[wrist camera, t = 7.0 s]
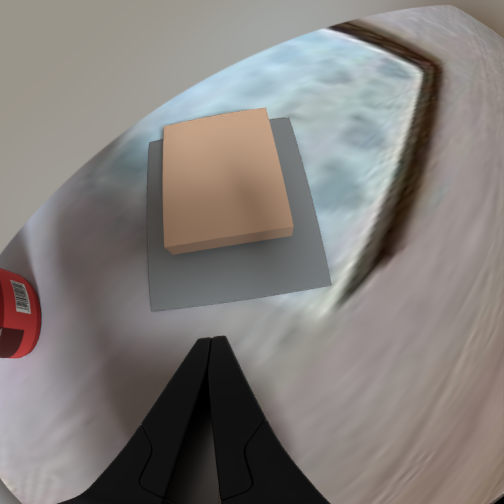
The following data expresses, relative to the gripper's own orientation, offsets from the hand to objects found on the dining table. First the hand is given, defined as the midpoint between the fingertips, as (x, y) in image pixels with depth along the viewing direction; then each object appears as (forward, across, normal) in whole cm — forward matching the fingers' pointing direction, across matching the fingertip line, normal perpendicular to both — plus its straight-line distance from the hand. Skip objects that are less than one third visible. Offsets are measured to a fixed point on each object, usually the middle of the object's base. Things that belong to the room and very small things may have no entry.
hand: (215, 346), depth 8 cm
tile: (+10, 0, +2) cm, 10 cm away
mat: (+14, 0, 0) cm, 14 cm away
